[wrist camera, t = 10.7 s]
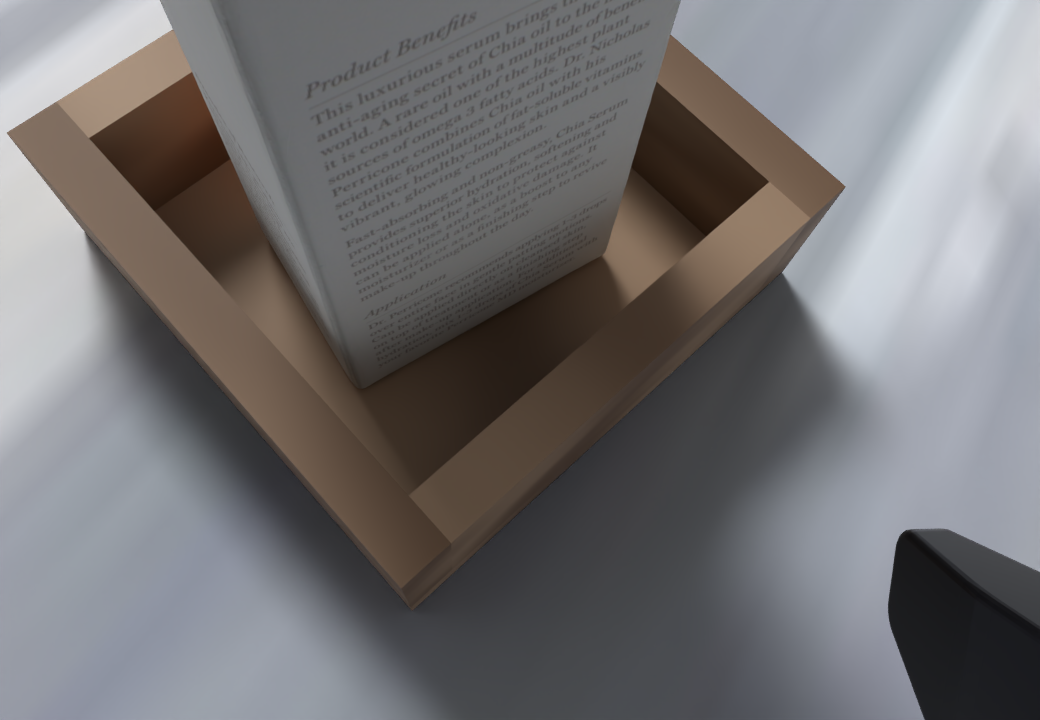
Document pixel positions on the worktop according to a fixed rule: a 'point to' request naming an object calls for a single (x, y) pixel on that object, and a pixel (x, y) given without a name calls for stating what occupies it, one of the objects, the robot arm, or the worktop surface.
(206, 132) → the walnut holder
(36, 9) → the worktop surface
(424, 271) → the skincare box
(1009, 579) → the robot arm
